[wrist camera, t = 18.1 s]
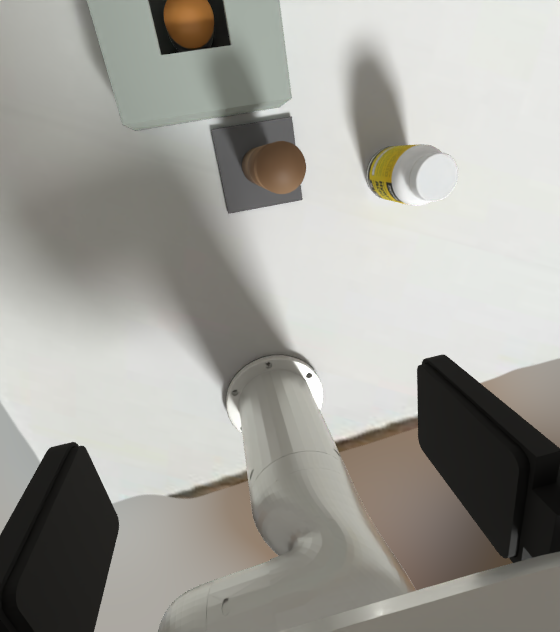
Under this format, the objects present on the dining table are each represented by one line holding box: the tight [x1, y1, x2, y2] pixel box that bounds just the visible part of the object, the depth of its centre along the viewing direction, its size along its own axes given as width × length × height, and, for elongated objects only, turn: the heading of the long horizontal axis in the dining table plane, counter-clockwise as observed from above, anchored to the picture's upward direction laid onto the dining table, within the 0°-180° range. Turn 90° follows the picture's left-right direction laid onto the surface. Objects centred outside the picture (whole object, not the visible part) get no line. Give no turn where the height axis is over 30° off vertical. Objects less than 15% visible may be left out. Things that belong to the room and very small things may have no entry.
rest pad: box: [211, 117, 302, 213], centre depth 39 cm, size 8×8×1 cm
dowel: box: [242, 141, 306, 194], centre depth 33 cm, size 4×4×13 cm
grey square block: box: [87, 0, 292, 130], centre depth 31 cm, size 14×14×6 cm
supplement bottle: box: [367, 145, 458, 206], centre depth 37 cm, size 5×5×10 cm
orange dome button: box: [164, 0, 214, 52], centre depth 32 cm, size 4×4×3 cm
